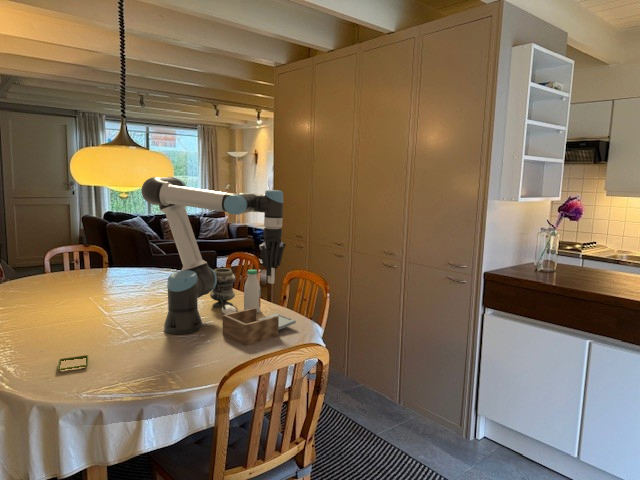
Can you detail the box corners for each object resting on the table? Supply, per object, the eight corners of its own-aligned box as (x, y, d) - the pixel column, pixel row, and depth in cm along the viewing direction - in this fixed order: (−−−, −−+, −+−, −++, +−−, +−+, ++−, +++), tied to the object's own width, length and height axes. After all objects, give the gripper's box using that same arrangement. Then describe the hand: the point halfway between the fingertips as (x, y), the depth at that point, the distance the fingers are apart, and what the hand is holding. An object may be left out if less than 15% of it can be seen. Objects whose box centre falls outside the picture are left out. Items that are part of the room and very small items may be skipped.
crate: (245, 345, 166) (245, 325, 165) (222, 334, 178) (222, 315, 177) (278, 335, 177) (278, 316, 176) (255, 325, 189) (255, 307, 188)
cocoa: (236, 317, 200) (237, 291, 199) (240, 321, 195) (241, 294, 194) (215, 318, 196) (216, 292, 195) (218, 322, 191) (219, 295, 190)
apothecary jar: (227, 310, 209) (226, 273, 206) (205, 307, 213) (204, 271, 210) (239, 303, 220) (239, 268, 218) (218, 301, 224) (218, 266, 221)
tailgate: (277, 327, 178) (295, 319, 185) (257, 319, 188) (276, 312, 194) (277, 330, 179) (295, 323, 185) (258, 322, 188) (276, 316, 195)
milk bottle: (257, 314, 204) (257, 272, 201) (241, 313, 205) (241, 271, 202) (262, 309, 211) (262, 269, 208) (247, 308, 213) (247, 268, 210)
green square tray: (88, 360, 151) (88, 354, 151) (88, 370, 143) (88, 364, 143) (59, 364, 147) (59, 358, 147) (57, 375, 139) (57, 369, 139)
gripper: (266, 229, 175) (264, 287, 178) (290, 228, 184) (288, 282, 187) (254, 227, 180) (253, 283, 183) (279, 225, 189) (277, 279, 192)
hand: (270, 282), depth 185 cm, fingers closed
